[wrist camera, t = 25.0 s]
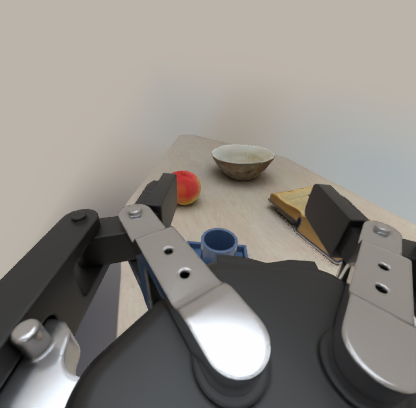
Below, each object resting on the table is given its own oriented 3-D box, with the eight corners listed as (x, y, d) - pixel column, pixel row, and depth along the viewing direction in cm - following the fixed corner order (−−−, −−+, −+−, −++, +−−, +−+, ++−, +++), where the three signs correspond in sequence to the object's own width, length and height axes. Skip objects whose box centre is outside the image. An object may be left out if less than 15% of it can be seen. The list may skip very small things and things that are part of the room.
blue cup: (198, 284, 38) (199, 251, 34) (201, 258, 44) (202, 226, 39) (232, 287, 38) (238, 253, 34) (231, 260, 43) (236, 229, 39)
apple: (187, 214, 58) (187, 182, 53) (161, 204, 62) (159, 173, 56) (205, 200, 65) (207, 171, 60) (181, 192, 69) (180, 163, 64)
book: (382, 246, 50) (395, 227, 47) (335, 266, 44) (347, 245, 41) (304, 198, 69) (310, 182, 66) (264, 207, 63) (268, 190, 60)
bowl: (198, 175, 81) (199, 150, 76) (229, 160, 97) (232, 139, 92) (252, 195, 70) (258, 167, 64) (277, 174, 86) (283, 151, 81)
